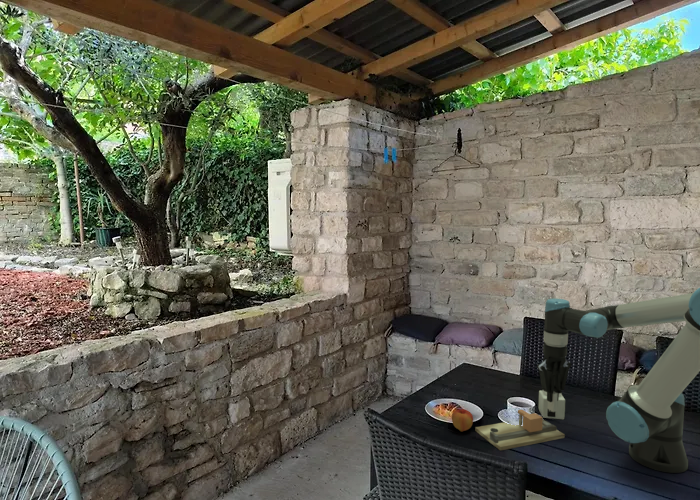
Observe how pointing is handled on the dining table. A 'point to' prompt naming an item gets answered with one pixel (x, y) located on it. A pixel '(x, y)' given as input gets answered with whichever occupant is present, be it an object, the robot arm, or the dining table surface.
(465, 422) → the apple
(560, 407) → the container
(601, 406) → the dining table surface
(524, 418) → the block
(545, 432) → the board
